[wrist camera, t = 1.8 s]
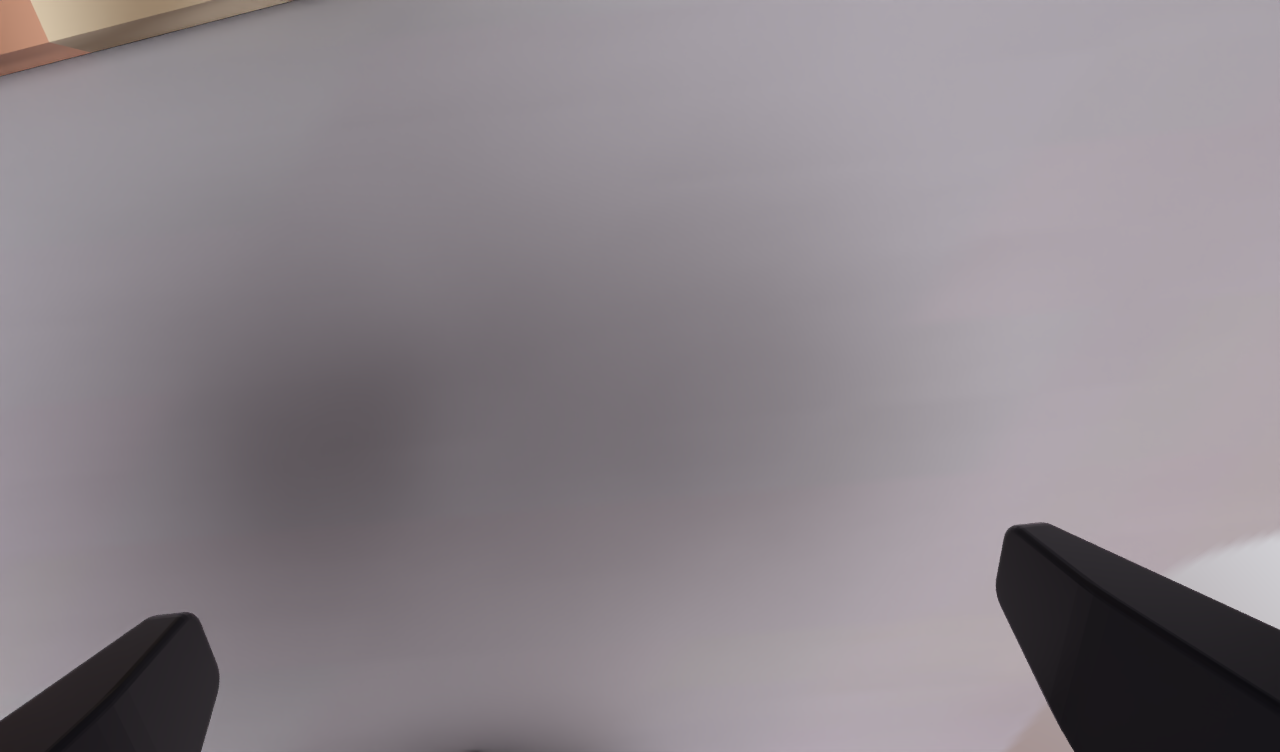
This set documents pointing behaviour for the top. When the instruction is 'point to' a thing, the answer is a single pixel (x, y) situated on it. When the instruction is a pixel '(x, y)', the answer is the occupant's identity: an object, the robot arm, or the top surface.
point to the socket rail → (98, 25)
